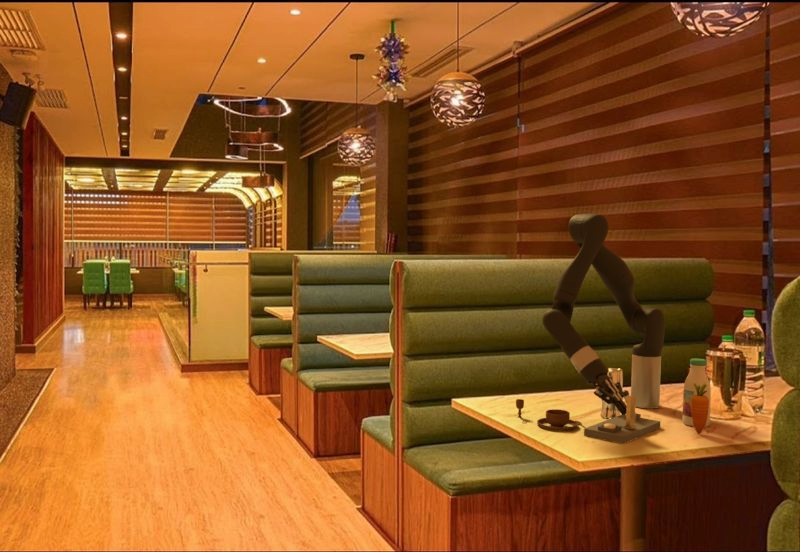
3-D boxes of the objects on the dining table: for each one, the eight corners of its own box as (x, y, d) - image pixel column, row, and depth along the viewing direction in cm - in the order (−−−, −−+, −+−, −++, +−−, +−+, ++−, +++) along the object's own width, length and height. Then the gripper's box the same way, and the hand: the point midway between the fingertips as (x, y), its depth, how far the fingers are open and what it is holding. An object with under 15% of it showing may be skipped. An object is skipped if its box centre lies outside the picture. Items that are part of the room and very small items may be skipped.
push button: (607, 427, 211) (607, 422, 211) (617, 429, 209) (617, 424, 209) (601, 429, 209) (601, 424, 208) (612, 431, 206) (612, 426, 206)
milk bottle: (708, 422, 227) (711, 358, 226) (710, 428, 220) (712, 362, 219) (681, 420, 229) (684, 356, 228) (682, 426, 222) (685, 360, 221)
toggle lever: (633, 418, 222) (623, 390, 224) (639, 417, 221) (628, 389, 223) (630, 420, 221) (620, 391, 223) (636, 418, 220) (625, 389, 222)
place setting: (536, 434, 212) (537, 414, 212) (512, 417, 232) (512, 399, 232) (593, 432, 216) (593, 412, 216) (564, 415, 236) (564, 397, 235)
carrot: (686, 432, 215) (688, 381, 215) (702, 431, 216) (704, 381, 215) (694, 436, 210) (696, 384, 210) (711, 436, 211) (713, 384, 210)
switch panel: (622, 420, 228) (622, 409, 228) (660, 427, 220) (660, 415, 220) (584, 435, 210) (584, 422, 210) (623, 443, 202) (624, 430, 202)
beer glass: (622, 420, 229) (624, 372, 228) (599, 418, 230) (600, 371, 229) (620, 414, 235) (622, 368, 235) (598, 413, 237) (599, 367, 236)
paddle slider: (628, 426, 212) (629, 395, 212) (636, 427, 211) (637, 396, 210) (623, 428, 210) (624, 396, 210) (631, 429, 208) (632, 398, 208)
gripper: (586, 359, 212) (625, 409, 204) (608, 354, 221) (646, 402, 214) (569, 375, 216) (607, 424, 208) (591, 370, 225) (628, 416, 218)
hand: (626, 413), depth 211 cm, fingers closed
